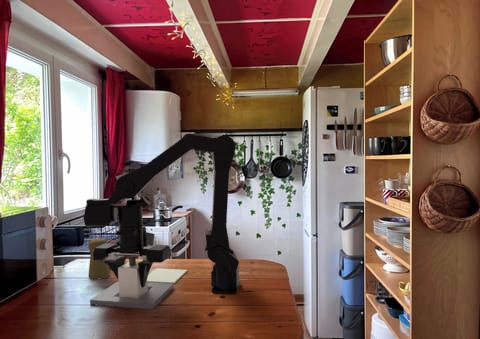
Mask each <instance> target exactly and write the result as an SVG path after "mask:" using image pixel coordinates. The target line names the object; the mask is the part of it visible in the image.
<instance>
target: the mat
mask: <svg viewBox="0 0 480 339" xmlns="http://www.w3.org/2000/svg"><path fill="white" fill-rule="evenodd" d="M187 272H188V269H179V268H177V269H173V268H155V269H154V270H153V271H151V272H149V274H148V278H147V283H165V284H173V285H174V284H176V283H177V282H178V281H179V280H180V279H181V278H182V277H183V276H184V275H185V274H186V273H187Z"/></svg>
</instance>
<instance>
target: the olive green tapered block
mask: <svg viewBox="0 0 480 339" xmlns="http://www.w3.org/2000/svg"><path fill="white" fill-rule="evenodd" d="M105 243H108V241H107V239H106V238H100V237H99V238H98V237H97V238H93V239H91V240H90V241H89V242H88V245H87V246H88V247H87V248H88V250H89V251H90V254H89V266H88V267H89V268H88V276H87V278H88V277H89V278H91V279H90V280H99V279H98V278H102V279H104V278H103V277H105V278H107V277H106V276H108V275H109V274H110V275H111V271H110V270H111V269H110V267H109V266H108V264H105V263H104V261H106V258H105V259H104V260H93V256H92V253H93V250H94V249H95V248H96V247H98V246H101V245H103V244H105ZM110 275H109V276H110ZM109 276H108V277H109ZM89 278H88V279H89Z"/></svg>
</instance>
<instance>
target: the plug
mask: <svg viewBox="0 0 480 339" xmlns="http://www.w3.org/2000/svg"><path fill="white" fill-rule="evenodd" d="M136 257H137V256H128V261H127V262H125V264H123V265H122V266H120V267H118V279H117V280H118V281H119V297H128V298H140V297H142V296H143V295H144V294H145V293H146V292H147V291H148V286H147V283H148V282H147V281H146V284H145V286H144V287H141V283H140V275H139V266H138V263H140V262H141V261H136V260H137V258H136Z"/></svg>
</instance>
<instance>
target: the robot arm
mask: <svg viewBox="0 0 480 339" xmlns="http://www.w3.org/2000/svg"><path fill="white" fill-rule="evenodd" d="M192 150H194V151H199V152H206V153H211V157H212V159H211V160H212V164H213V173H214V174H213V190H212V191H213V192H212V211H211V214H212V215H211V225H210V228H209V230H207V229H205V230H204V242H203V250H204V252H206V256H207V258H208V259H209V260H210V261H211V262H212V263H214V264H213V265H212V270H211V272H210V279H211V280H210V281H211V282H210V283H211V287H212V288H211V292H212V293H224V294H237V292H238V290H239V288H240V286H241V285H242V283H241V281H240V268H239V267H240V266H239V265H240V262H239V259H238V256H237V255H236V253H235V250H233V249H232V248H231V247H230V240H229V234H228V228H227V223H228V222H227V221H228V220H227V219H228V201H229V184H230V183H229V182H230V181H229V180H230V171H231V167H232V163H233V161H234V156H235V151H236V142H235V140H234V139H233V138H232V137H231V136H229V135H226V134H223V135H218V136H217V137H213V136H204V135H198V134H194V133H186V134H184V135H183V136H182V137H181V139H179V140H178V141H176V142H175V143H174V144H172V145H171V146H170V147H168V148H167V149H165V150H164V151H163V152H160V153H159V154H158V155H157V156H156V157H154V158H153V159H151V160H150V161H148V163H146V164H144V165H142V166H140V167H138V168H136V169H134V170H132V171H129V172H128V173H125V174H123V175H122V176H119V177H118V178H117V179H116V181H115V185H114V190H113V193H111V195H110V196H109V198H101V199H100V198H88V199H86V205H85V208H84V214H83V223H84V225H85V227H86V228H93V227H95V228H97V227H111V226H112V225H113V222H114V223H115V222H117V219H118V229H117V230H116V231H115V236H118V240H119V244H118V243H115V244H111V243H110V242H107V243H105V244H103V245H101V246H98V247H96V248H95V249H94V250H93V253H92V256H93V260H104V259H105V258H106V261H104V263H105V264H108V266H109V269H110V270H111V271H112V272H113V274H114V275H115V277H116V279H117V280H118V267H120V266H122V265H123V264H125V263H126V260H127V257H130V256H136V257H139V258H140V257H142V260H141V261H139V262H140V263H138V266H139V275H140V283H141V287H144V286H145V284H146V281H147V278H148V275H149V274H150V271H151V268H152V266H153V264H154V263H155V264H156V263H157V264H159V263H163V262H165V261H167V260H168V259H169V258H170V257H172V248H171V247H170V245H168V244H155V245H154V241H155V233H152V232H150V231H149V232H147V227H146V226H144V224H143V221H144V220H143V208H144V207H149V205H151V202H150V201H149V200H148V199H146V198H145V196H144V195H141V197H140V198H139V199H137V198H136V199H132V198H134V197H136V196H137V195H139V194H140V193H141V192H142V191H143V190H144V189H145V188H146V187H147V185H149V183H150V182H151V181H153V179H154V178H155V177H156V176H157V175H159V174H160V173H161V172H163V171H164V170H166V169H167V168H169V167H170V166H171V165H172V164H174V163H175V162H177V161H178V160H179V159H180V158H182V157H183V156H185V155H186V154H187V153H189V152H190V151H192ZM125 199H126V203H119V202H122V201H123V200H125ZM149 246H150V248H147V247H149Z"/></svg>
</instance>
